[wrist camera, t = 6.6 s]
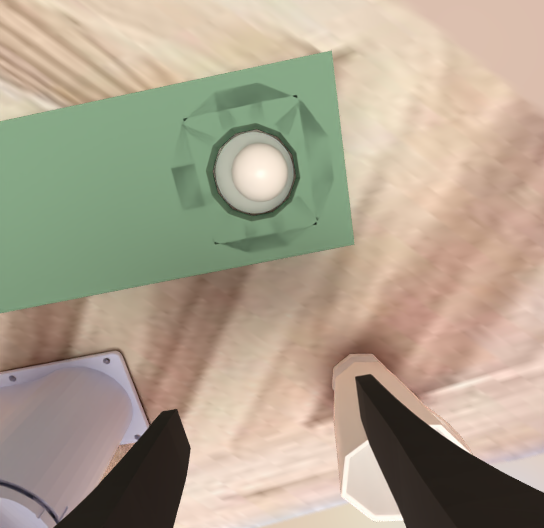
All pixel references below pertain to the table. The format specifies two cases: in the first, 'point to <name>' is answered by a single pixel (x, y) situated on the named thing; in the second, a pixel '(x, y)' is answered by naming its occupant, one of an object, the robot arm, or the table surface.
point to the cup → (354, 444)
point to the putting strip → (168, 183)
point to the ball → (259, 172)
